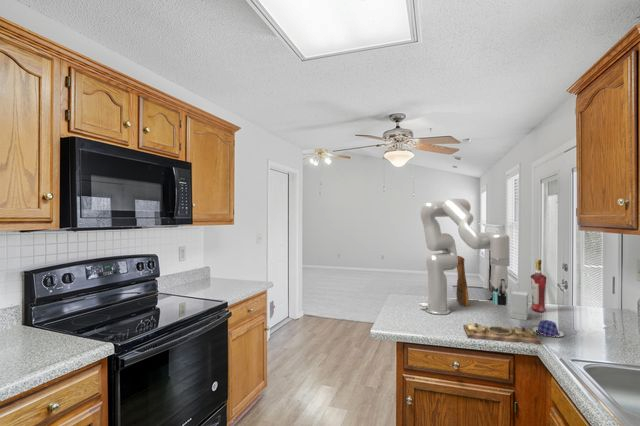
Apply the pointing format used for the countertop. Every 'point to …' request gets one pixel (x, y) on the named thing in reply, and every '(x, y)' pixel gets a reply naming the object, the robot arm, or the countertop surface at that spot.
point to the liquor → (538, 289)
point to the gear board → (501, 333)
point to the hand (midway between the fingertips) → (499, 302)
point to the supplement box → (519, 305)
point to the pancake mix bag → (461, 283)
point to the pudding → (548, 328)
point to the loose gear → (495, 298)
